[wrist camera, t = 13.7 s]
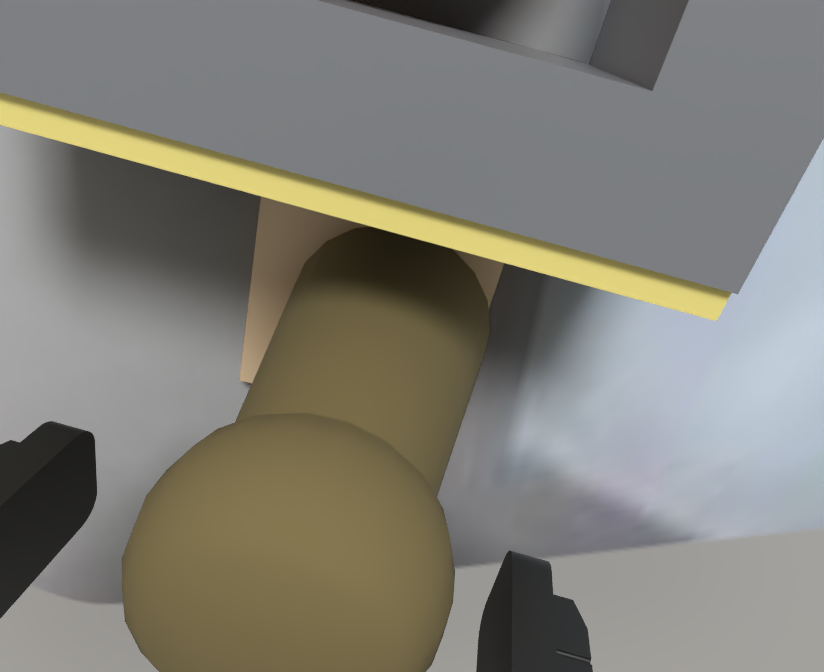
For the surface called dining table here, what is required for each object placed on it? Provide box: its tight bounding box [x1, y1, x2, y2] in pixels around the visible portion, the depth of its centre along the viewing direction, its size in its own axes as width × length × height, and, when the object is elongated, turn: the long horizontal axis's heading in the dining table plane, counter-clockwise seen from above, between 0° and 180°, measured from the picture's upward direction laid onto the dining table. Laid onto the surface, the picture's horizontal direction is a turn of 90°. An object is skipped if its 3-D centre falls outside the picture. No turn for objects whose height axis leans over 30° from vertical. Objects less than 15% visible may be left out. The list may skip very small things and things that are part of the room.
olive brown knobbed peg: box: [122, 226, 491, 672], centre depth 13 cm, size 6×6×11 cm
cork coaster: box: [239, 196, 504, 383], centre depth 18 cm, size 7×7×1 cm
